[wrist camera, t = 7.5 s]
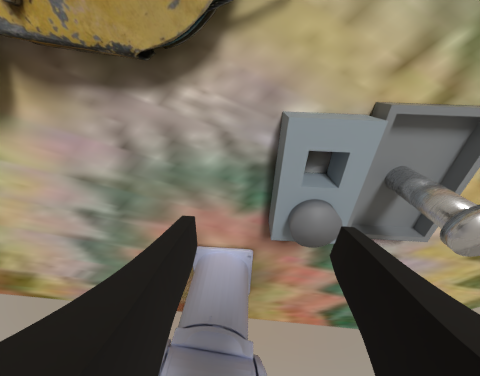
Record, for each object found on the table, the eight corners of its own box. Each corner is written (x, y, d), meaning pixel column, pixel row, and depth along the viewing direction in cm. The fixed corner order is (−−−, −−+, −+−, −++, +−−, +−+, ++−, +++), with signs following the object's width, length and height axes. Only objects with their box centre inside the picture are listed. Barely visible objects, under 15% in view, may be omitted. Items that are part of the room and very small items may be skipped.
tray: (413, 229, 22) (427, 241, 20) (333, 224, 22) (340, 237, 20) (489, 106, 15) (520, 109, 14) (376, 102, 16) (392, 104, 14)
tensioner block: (329, 224, 22) (346, 255, 18) (268, 221, 22) (272, 251, 18) (365, 114, 16) (403, 125, 12) (282, 111, 16) (293, 121, 12)
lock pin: (409, 194, 19) (497, 257, 12) (372, 192, 19) (439, 254, 12) (427, 160, 17) (542, 213, 10) (387, 159, 17) (474, 210, 11)
